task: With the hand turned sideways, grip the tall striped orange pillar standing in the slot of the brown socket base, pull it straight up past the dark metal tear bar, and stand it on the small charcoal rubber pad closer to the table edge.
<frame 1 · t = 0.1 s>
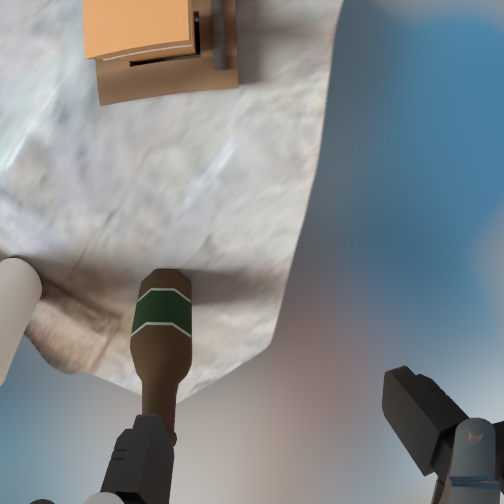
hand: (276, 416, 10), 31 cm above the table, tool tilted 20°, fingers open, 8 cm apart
alcohol: (21, 277, 40), on the table
brown socket base: (167, 41, 28), on the table
striped orange pillar: (167, 41, 28), resting in brown socket base
beer bottle: (166, 287, 45), on the table
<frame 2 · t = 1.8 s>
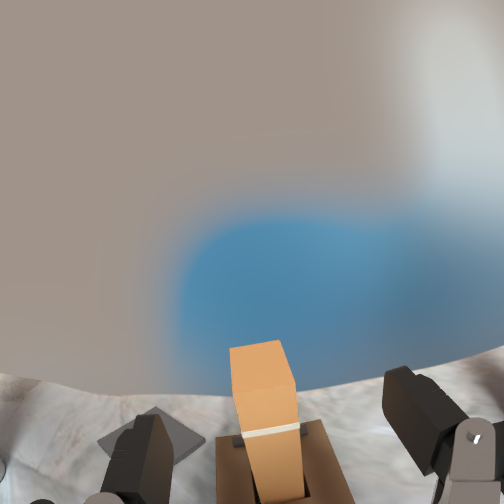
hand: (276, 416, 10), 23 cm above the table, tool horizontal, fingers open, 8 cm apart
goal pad: (149, 445, 35), on the table
brown socket base: (281, 494, 26), on the table
striped orange pillar: (281, 494, 26), resting in brown socket base
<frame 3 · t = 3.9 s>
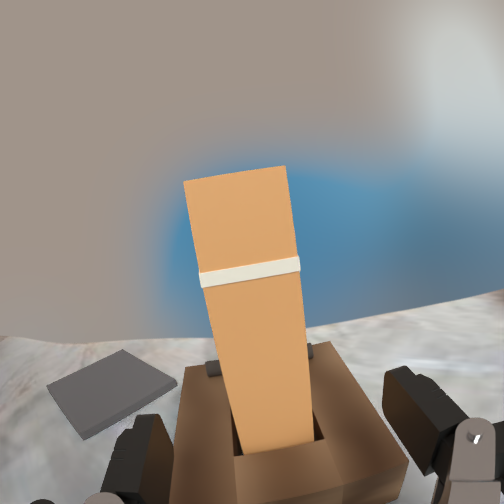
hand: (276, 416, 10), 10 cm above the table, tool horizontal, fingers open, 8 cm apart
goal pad: (106, 390, 28), on the table
brown socket base: (277, 449, 19), on the table
striped orange pillar: (277, 450, 19), resting in brown socket base
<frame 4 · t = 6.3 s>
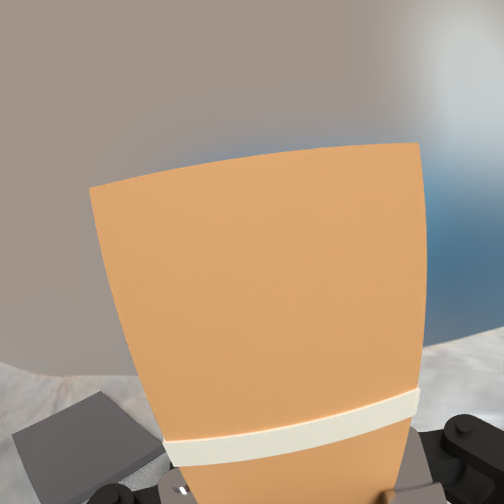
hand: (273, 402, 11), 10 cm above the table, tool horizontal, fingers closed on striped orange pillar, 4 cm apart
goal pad: (79, 449, 19), on the table
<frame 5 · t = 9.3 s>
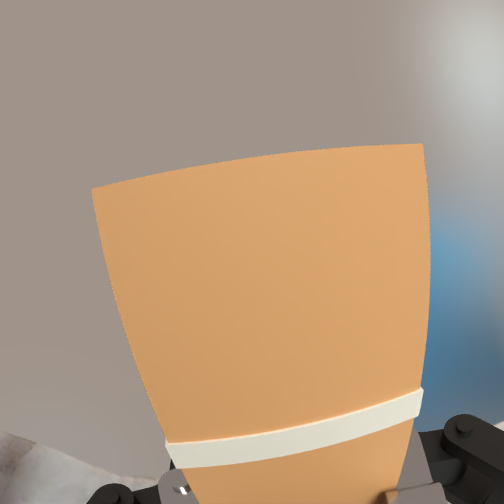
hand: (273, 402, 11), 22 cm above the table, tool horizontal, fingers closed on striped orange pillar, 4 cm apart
when the fingers open (12 cm above the table, at t = 12.6 s): striped orange pillar drops 1 cm, resting on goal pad.
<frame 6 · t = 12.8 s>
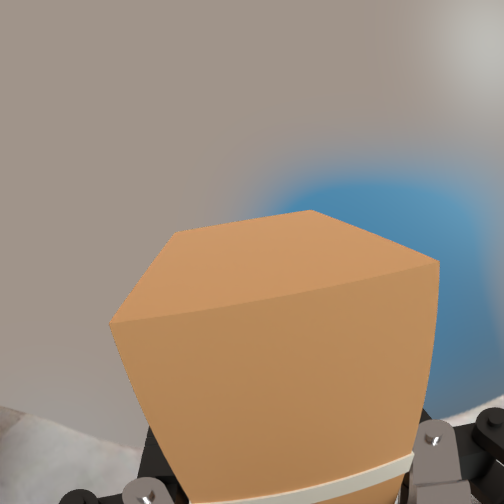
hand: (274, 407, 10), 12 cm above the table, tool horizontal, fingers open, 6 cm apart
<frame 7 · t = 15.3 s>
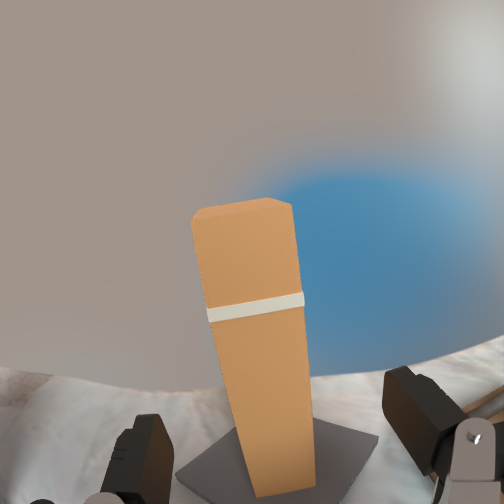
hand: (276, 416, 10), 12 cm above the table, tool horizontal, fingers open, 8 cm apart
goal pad: (279, 468, 20), on the table
striped orange pillar: (279, 462, 19), point 1 cm above the table, touching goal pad
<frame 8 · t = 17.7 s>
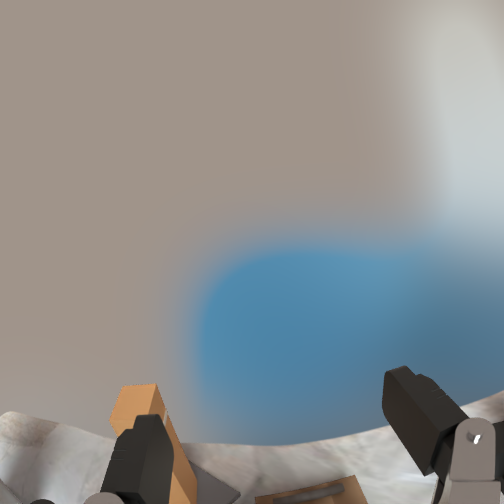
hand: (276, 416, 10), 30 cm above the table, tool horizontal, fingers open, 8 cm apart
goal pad: (183, 499, 32), on the table
striped orange pillar: (182, 496, 32), point 1 cm above the table, touching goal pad
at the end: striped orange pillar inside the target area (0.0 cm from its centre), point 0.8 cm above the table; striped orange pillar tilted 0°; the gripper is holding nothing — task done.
